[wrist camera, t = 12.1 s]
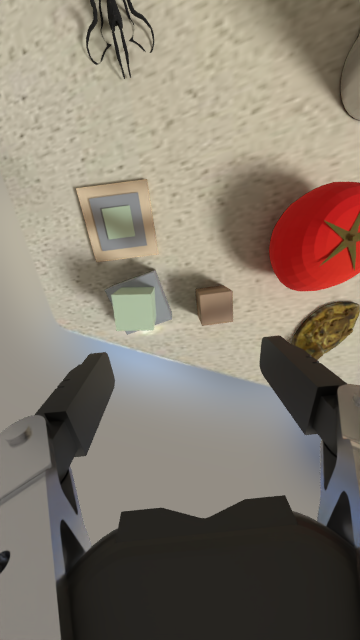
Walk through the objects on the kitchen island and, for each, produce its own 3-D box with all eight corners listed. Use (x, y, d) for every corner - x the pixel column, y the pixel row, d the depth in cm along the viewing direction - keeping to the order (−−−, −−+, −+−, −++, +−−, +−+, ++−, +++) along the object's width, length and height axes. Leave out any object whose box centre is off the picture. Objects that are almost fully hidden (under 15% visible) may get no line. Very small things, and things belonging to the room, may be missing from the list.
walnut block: (195, 289, 32) (199, 295, 27) (223, 285, 32) (232, 291, 27) (197, 315, 34) (202, 325, 29) (224, 312, 34) (233, 321, 29)
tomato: (317, 172, 27) (402, 125, 17) (352, 241, 30) (439, 236, 20) (239, 243, 30) (274, 239, 20) (280, 299, 33) (326, 318, 23)
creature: (159, 79, 23) (141, -40, 19) (159, 49, 19) (135, -115, 14) (100, 92, 23) (69, -22, 19) (85, 66, 19) (40, -92, 14)
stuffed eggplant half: (334, 286, 34) (275, 343, 38) (356, 289, 30) (287, 353, 33) (365, 315, 36) (306, 368, 39) (391, 322, 31) (322, 381, 35)
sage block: (121, 287, 27) (111, 294, 23) (154, 286, 28) (151, 294, 23) (125, 318, 29) (116, 331, 25) (156, 317, 29) (153, 330, 25)
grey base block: (112, 285, 31) (104, 290, 27) (155, 269, 31) (153, 271, 27) (131, 325, 34) (127, 334, 30) (171, 311, 33) (171, 319, 30)
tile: (77, 189, 26) (73, 186, 25) (147, 180, 26) (146, 177, 25) (97, 262, 29) (94, 262, 28) (158, 254, 29) (158, 254, 28)
